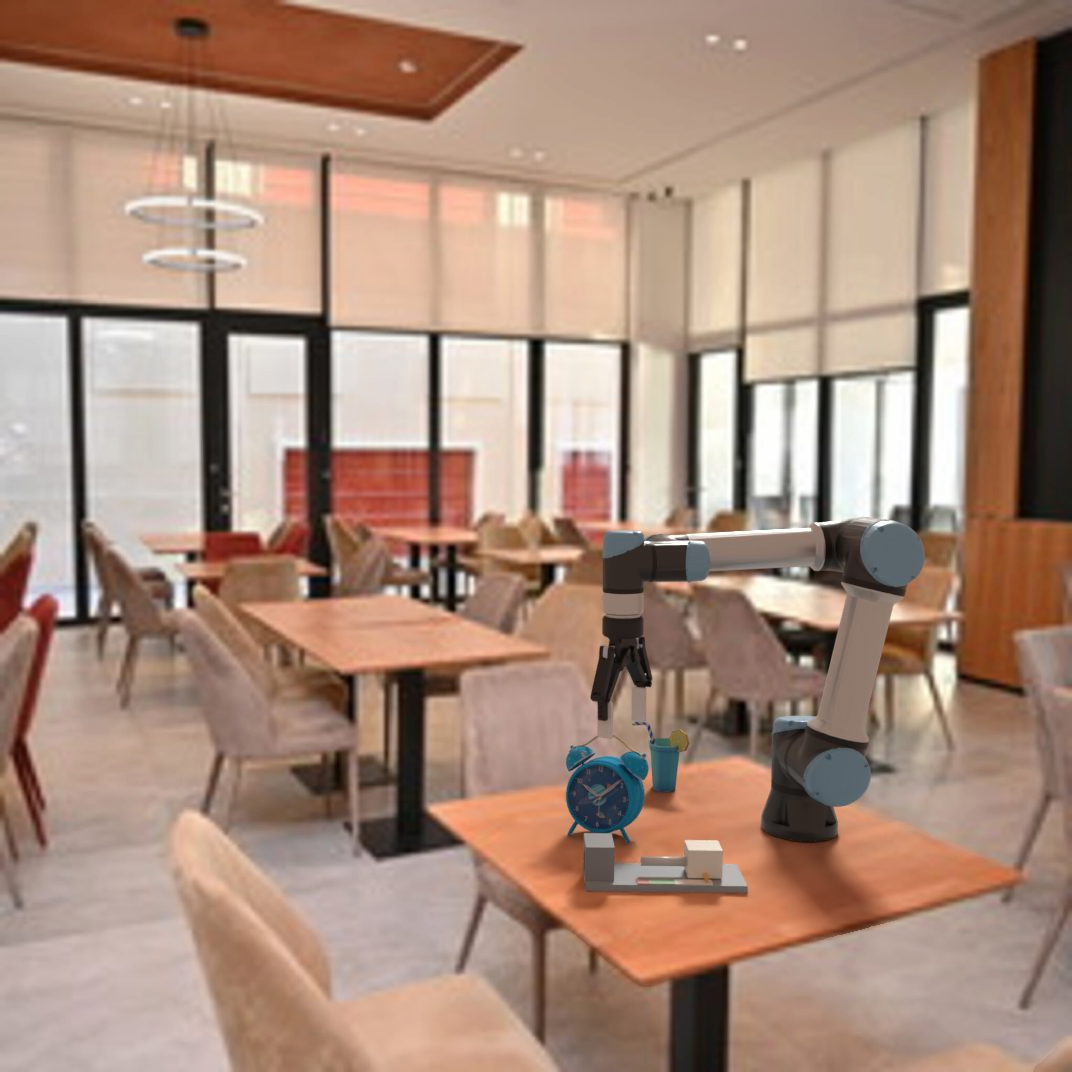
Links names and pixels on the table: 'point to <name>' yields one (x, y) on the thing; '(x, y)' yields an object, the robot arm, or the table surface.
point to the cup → (665, 758)
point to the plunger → (694, 859)
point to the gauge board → (647, 873)
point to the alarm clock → (605, 789)
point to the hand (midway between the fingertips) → (622, 729)
